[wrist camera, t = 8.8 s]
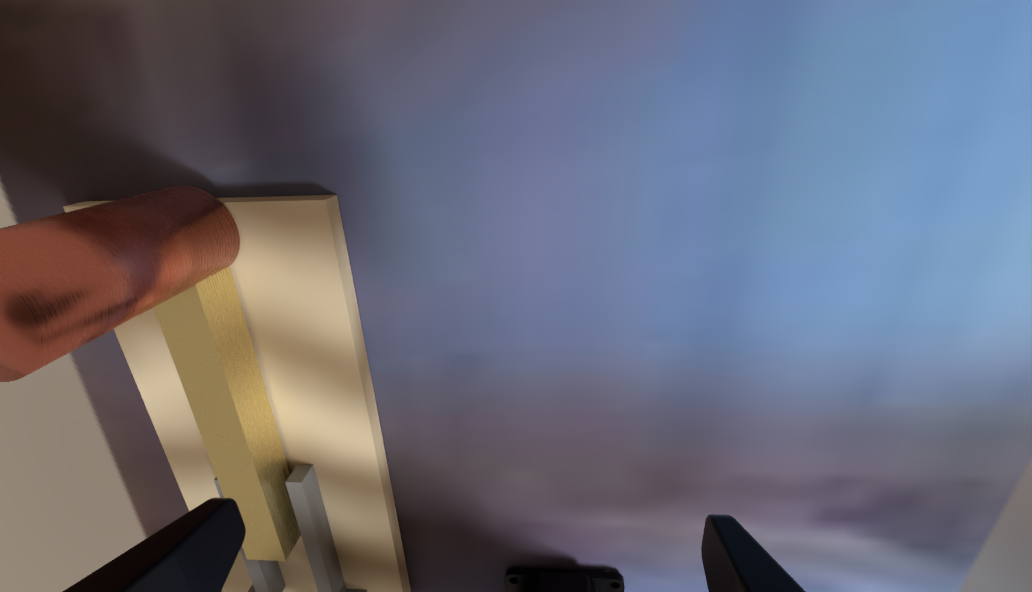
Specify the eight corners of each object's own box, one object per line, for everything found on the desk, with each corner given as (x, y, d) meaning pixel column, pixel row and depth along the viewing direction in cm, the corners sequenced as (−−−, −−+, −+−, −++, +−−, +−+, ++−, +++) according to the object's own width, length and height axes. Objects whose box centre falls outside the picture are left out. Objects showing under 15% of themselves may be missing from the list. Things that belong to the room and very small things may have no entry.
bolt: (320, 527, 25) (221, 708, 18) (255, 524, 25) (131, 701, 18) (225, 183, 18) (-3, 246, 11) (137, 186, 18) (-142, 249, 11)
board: (418, 630, 30) (378, 784, 23) (251, 620, 31) (166, 766, 24) (336, 194, 19) (220, 249, 12) (85, 201, 20) (-146, 254, 13)
